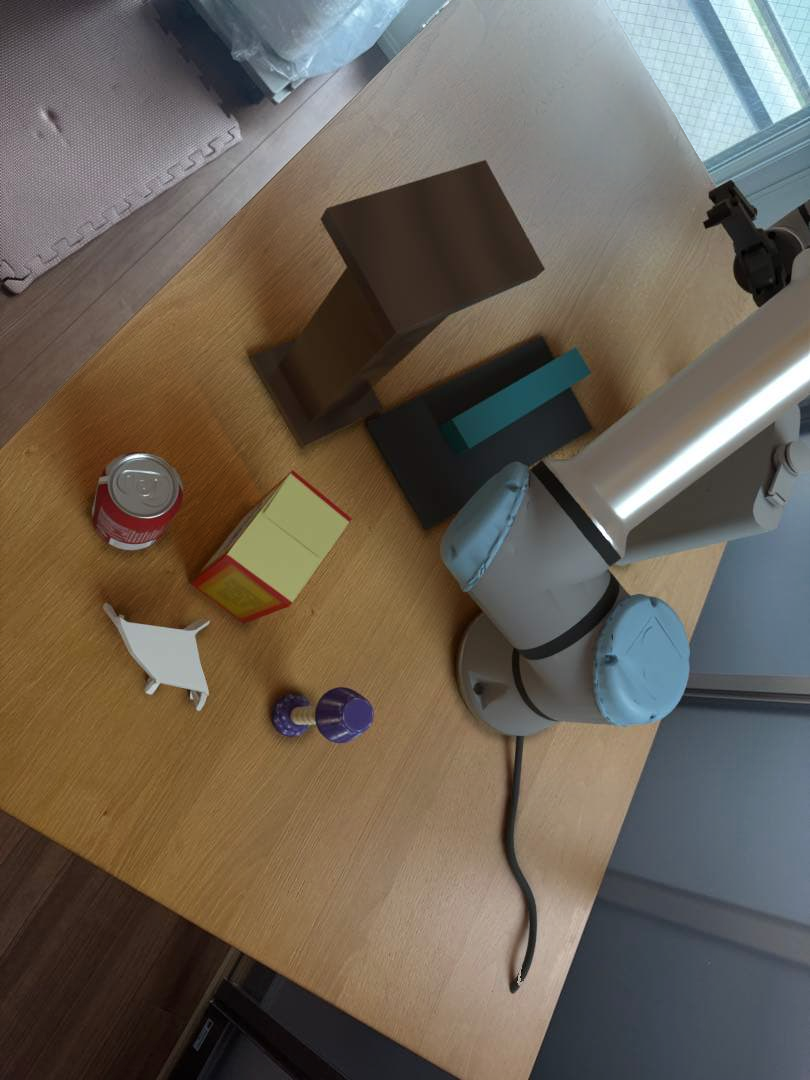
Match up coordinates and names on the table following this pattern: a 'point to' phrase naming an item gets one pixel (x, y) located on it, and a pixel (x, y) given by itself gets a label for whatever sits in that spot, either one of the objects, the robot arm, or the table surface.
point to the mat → (452, 480)
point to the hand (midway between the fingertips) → (741, 281)
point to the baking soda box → (272, 550)
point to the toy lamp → (324, 715)
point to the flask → (728, 496)
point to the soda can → (136, 500)
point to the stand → (394, 291)
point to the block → (514, 401)
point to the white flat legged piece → (165, 654)
